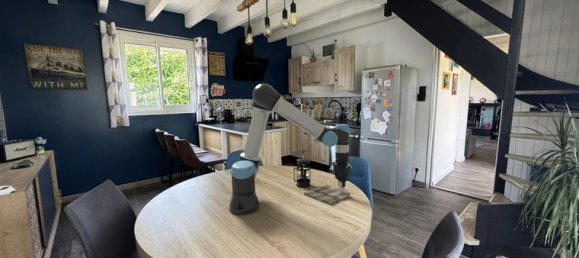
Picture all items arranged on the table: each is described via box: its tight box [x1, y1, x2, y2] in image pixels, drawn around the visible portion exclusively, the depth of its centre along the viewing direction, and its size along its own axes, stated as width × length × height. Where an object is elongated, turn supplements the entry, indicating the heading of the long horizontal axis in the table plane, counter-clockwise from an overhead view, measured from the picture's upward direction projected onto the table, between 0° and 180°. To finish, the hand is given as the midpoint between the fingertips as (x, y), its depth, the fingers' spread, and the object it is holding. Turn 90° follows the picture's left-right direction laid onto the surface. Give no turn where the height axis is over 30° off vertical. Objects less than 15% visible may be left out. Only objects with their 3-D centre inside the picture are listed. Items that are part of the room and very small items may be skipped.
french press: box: [293, 149, 312, 189], centre depth 157 cm, size 12×9×23 cm
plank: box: [313, 184, 351, 202], centre depth 143 cm, size 20×9×1 cm, turn 40°
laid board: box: [303, 188, 341, 206], centre depth 137 cm, size 20×8×2 cm, turn 40°
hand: (341, 192), depth 139 cm, fingers closed
